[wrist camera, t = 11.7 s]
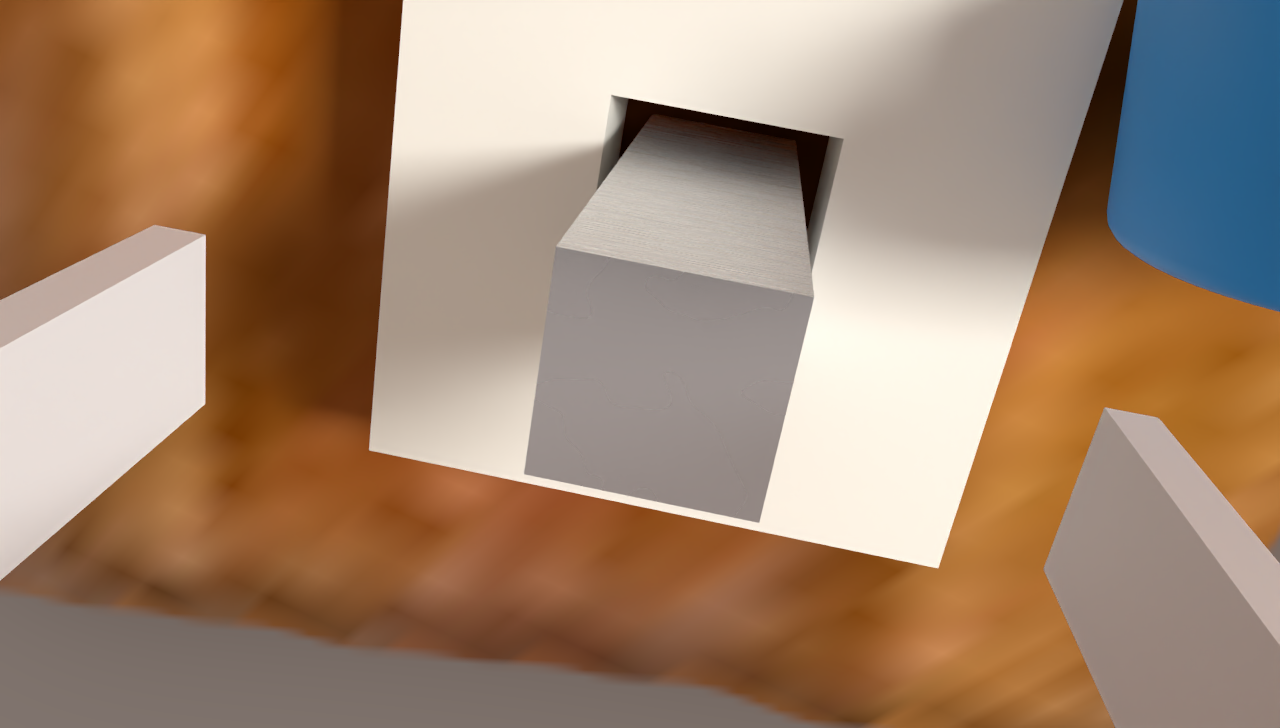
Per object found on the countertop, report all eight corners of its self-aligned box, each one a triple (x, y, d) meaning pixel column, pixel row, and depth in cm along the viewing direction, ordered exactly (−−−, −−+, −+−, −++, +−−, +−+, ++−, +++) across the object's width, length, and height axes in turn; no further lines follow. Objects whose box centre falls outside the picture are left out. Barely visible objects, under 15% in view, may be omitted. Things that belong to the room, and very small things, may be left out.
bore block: (414, 393, 33) (369, 450, 29) (466, -167, 27) (417, -186, 23) (918, 497, 32) (938, 568, 29) (1090, -56, 26) (1141, -57, 22)
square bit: (629, 251, 31) (524, 474, 18) (653, 113, 29) (555, 246, 16) (765, 278, 30) (759, 522, 17) (795, 140, 29) (814, 297, 16)
